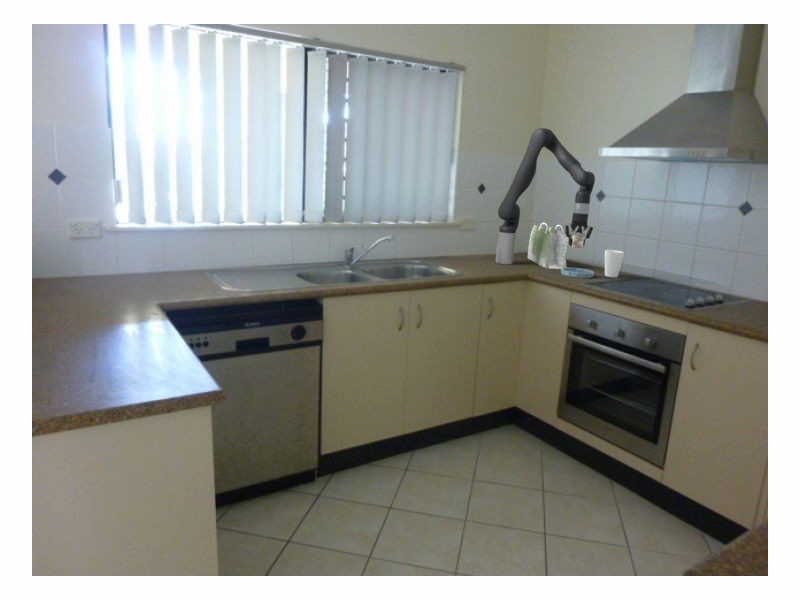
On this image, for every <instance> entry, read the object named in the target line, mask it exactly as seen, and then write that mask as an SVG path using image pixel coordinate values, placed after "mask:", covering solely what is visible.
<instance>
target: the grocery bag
mask: <svg viewBox="0 0 800 600" xmlns="http://www.w3.org/2000/svg"><path fill="white" fill-rule="evenodd" d="M543 225H544V226H545V227H542V226H543ZM558 227H560V229H561V231H560V230H558V229H557V228H558ZM568 245H569V237H566V233H565V229H564V228H563V226H562V225H561V224H556V226H555V227H552V226H551V227H550V226H548V224H547V223H546V222H542V223H540V225H536V224H534V225H533V226H532V230H531V232H530V236H529V242H528V247H527V248H528V249H527V258H526V259H528V260H530V261H532V262H534V263H535V264H536V265H539V266H540V267H543V268H544V267H545V269H557V270H558V269H559V270H561V269H562V268H568V267H567V260H566V254H567V251H568V250H567V249H568Z"/></svg>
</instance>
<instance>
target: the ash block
mask: <svg viewBox="0 0 800 600" xmlns="http://www.w3.org/2000/svg"><path fill="white" fill-rule="evenodd" d="M572 239H573V242H572V246H570V247H571V248H575V249H583V247H584V246H583V241H584V236H583V235H581V234H575V235H573V238H572Z"/></svg>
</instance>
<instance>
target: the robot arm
mask: <svg viewBox="0 0 800 600" xmlns="http://www.w3.org/2000/svg"><path fill="white" fill-rule="evenodd" d="M543 148H545V149H547V150H548V151H550V152H551V153H552V154H553V155H554V157H555V158H556V160H557V162H558V163H559V164H560V166H561V167H562V168H563V169H564V170H565V171H566V172H567V173H568V174H570V177H571V178H572V180H573V181H574V182H575V183H576V184H578V185H579V188H578V189H579V190H578V191H576V193H575V197H574V199H575V200H574V205H573V209H572V218H571V223H570V224H565V225H564V233H565V234H566V237H569V238H568V245H569V247H571V246H572V242H573V239H572V238H573V235H576V233H577V234H578V233H579V234H580V235H583V236H584V241H583V247H584V246H585V244H586V240H587V239H590V237H591V235H592V231H593V229H594V227H593V226H591V225H588V220H589V214H590V202H591V195H592V192H593V189H594V186H595V182H596V177H595V173H593V172H592V171H590V170H589V171H586V170H585V169H584V168H583V167H582V164H581V162H580V161H579V160H578V159H577V158H576V157H575V156H573V154H572V153H570V152H569V151H568V149H566V147H565V146H564V145H563V144H562V142H561V141H560V140H559V139H558V137H557V136H556V134H555V133H554V131H552V130H551V129H549V128H544V127H539V128H538V127H537V128H536V129H535V130H534V131H533V132H532V134H531V136H530V139H529V142H528V145H527V147H526V151H525V153H524V155H523V158H522V159H521V162H520V165H519V167H518V169H517V170H516V173H515V175H514V177H513V180H512V181H511V185H510V187H508V190H507V193H506V195H505V197H504V198H503V200H502V202H501V203H500V204H499V207H498V210H497V214H498V217H499V219H500V220H503V223H502V225H500V226H499V228H498V230H499V231H498V237H497V238H498V239H497V244H496V249H495V263H496V264H500V265H513V264H514V254H515V243H516V235H517V230H518V227H519V222H520V216H521V208H520V206H519V204H517V201H518V200H519V199H520V197H521V196H522V195H523V193H524V192H525V191H526V190H527V189H528V188H529V187H530V186H531V184H532V183H533V179H534V177H535V175H536V173H537V162H538V157H539V155H540V153H541V151H542V150H543ZM570 228H571V232H570ZM586 230H587V232H586Z"/></svg>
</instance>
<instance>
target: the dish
mask: <svg viewBox="0 0 800 600" xmlns="http://www.w3.org/2000/svg"><path fill="white" fill-rule="evenodd" d="M560 274H561V275H562V276H565V277H570V278H577V279H592V278H593V277H594V274H595V272H594V271H593V270H591V269H586V268H579V267H567V268H562V269H560Z"/></svg>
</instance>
